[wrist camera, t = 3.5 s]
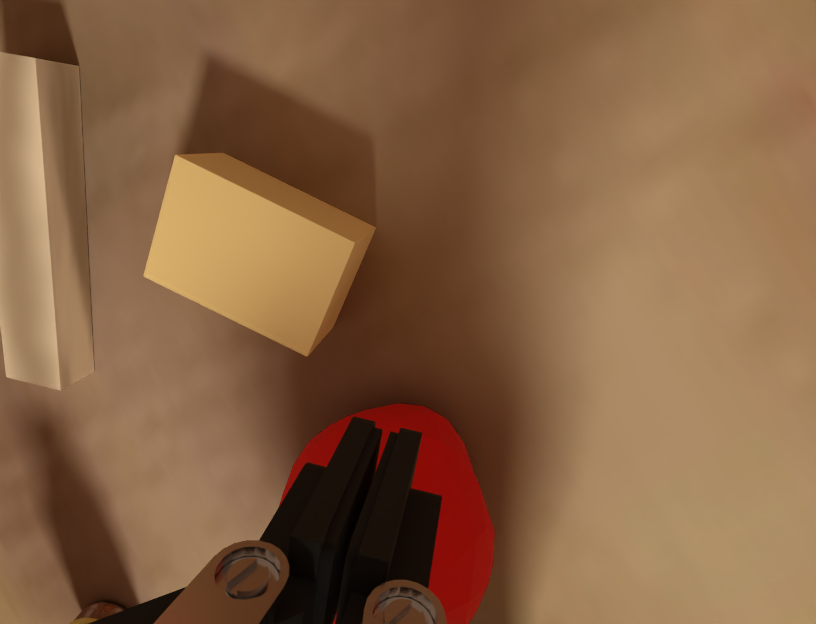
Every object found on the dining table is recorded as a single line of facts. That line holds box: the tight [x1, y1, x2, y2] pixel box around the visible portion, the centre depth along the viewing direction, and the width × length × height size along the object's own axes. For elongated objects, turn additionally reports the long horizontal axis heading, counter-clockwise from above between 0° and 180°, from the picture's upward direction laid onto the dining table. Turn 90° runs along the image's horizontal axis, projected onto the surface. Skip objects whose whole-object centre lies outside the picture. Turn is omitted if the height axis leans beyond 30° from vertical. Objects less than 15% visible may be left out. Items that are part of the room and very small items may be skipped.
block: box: [144, 153, 376, 357], centre depth 29 cm, size 10×7×5 cm
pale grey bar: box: [0, 52, 94, 390], centre depth 32 cm, size 4×20×3 cm, turn 170°
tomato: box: [279, 403, 495, 624], centre depth 30 cm, size 13×13×13 cm
